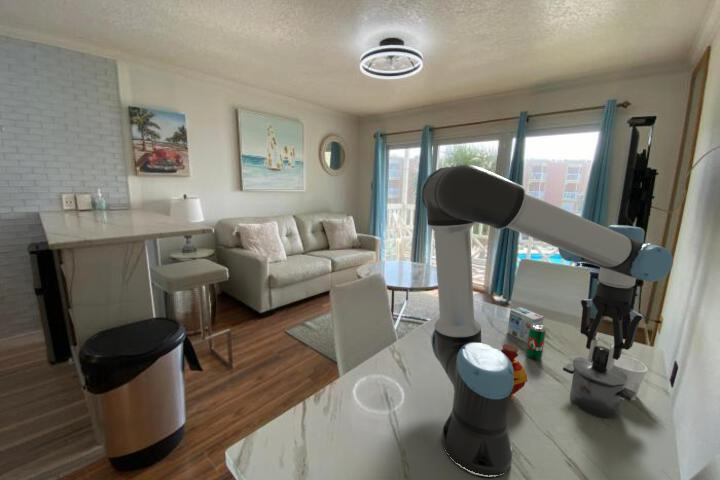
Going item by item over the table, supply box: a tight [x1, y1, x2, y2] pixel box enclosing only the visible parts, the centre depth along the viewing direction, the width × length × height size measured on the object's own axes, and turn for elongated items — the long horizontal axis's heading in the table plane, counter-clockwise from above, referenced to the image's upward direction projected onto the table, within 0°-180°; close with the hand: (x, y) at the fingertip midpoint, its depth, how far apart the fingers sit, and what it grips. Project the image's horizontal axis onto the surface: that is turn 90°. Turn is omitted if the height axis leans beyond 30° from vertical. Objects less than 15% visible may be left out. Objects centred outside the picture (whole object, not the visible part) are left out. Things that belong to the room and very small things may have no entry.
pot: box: [562, 362, 637, 420], centre depth 86 cm, size 11×16×9 cm
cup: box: [614, 353, 648, 402], centre depth 92 cm, size 10×10×10 cm
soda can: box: [525, 324, 546, 361], centre depth 110 cm, size 5×5×12 cm
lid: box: [572, 345, 627, 386], centre depth 85 cm, size 12×12×7 cm
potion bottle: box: [500, 343, 528, 401], centre depth 89 cm, size 10×10×15 cm
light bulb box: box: [506, 307, 545, 344], centre depth 125 cm, size 11×7×11 cm, turn 25°
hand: (600, 364), depth 85 cm, fingers open, 4 cm apart
